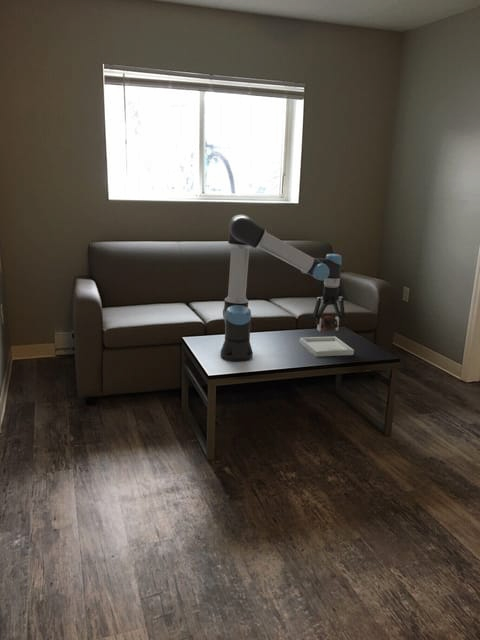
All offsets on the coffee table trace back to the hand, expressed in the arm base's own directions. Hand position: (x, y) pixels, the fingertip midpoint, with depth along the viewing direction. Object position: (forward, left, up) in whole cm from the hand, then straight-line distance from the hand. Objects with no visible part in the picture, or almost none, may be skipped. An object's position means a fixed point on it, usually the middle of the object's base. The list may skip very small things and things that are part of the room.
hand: (327, 330), depth 257 cm
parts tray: (0, 0, -10) cm, 10 cm away
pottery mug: (-1, +1, 0) cm, 1 cm away
